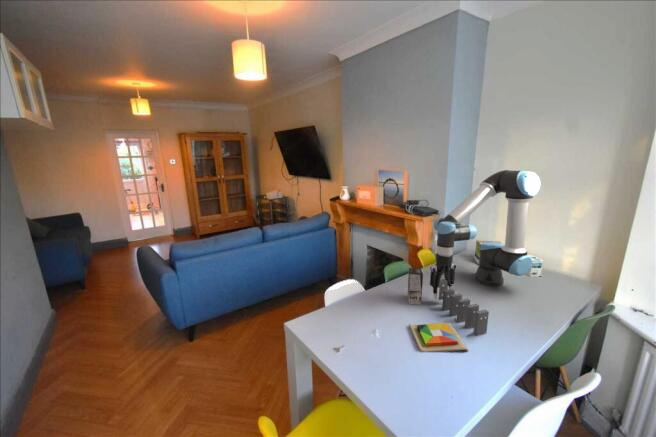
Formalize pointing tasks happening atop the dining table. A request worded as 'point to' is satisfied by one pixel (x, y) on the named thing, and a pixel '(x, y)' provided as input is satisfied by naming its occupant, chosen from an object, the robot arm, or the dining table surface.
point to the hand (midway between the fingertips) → (440, 298)
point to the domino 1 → (442, 287)
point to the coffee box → (415, 285)
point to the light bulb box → (535, 267)
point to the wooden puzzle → (437, 337)
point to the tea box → (478, 247)
